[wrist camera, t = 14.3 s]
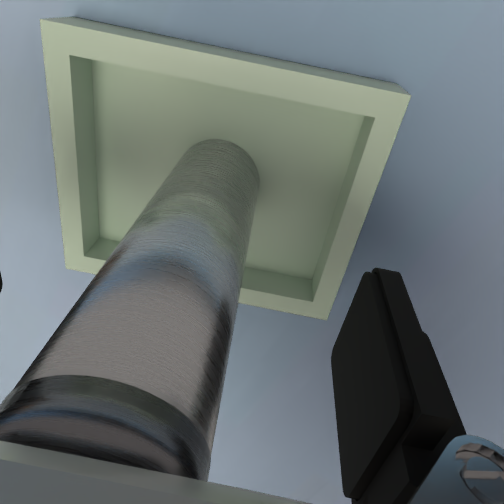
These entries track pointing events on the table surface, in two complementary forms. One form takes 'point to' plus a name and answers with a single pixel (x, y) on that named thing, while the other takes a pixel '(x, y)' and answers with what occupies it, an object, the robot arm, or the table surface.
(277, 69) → the tray
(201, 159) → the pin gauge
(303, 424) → the table surface
